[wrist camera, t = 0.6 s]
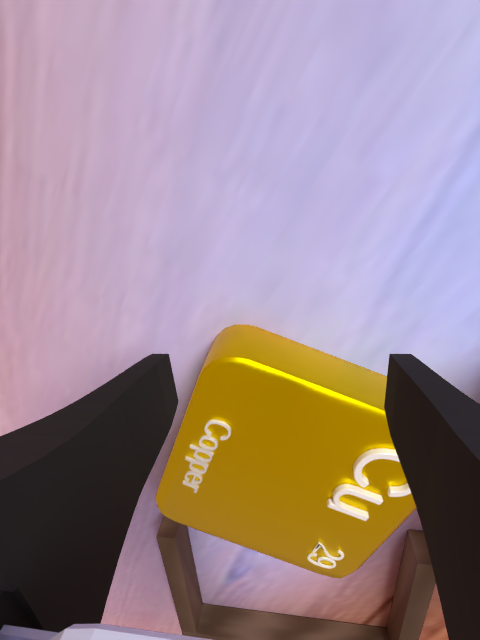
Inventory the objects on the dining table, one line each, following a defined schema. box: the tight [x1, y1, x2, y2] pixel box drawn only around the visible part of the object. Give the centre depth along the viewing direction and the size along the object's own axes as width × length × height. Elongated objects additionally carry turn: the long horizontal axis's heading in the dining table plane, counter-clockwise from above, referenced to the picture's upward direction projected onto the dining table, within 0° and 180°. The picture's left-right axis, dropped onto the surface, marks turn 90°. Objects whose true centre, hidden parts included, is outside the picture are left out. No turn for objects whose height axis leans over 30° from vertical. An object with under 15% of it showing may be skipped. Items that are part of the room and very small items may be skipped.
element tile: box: [156, 325, 416, 578], centre depth 23 cm, size 15×15×5 cm
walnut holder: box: [157, 516, 436, 640], centre depth 31 cm, size 21×16×2 cm
